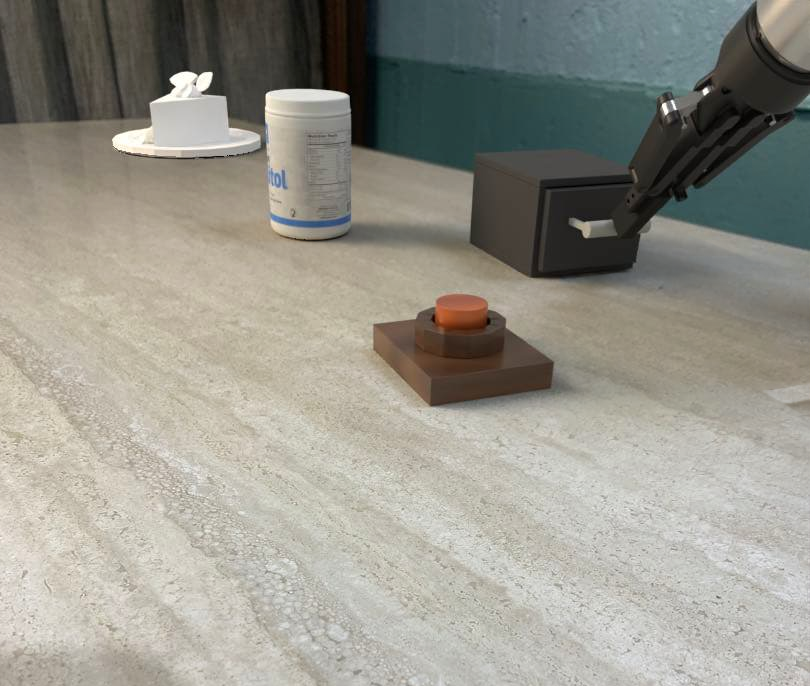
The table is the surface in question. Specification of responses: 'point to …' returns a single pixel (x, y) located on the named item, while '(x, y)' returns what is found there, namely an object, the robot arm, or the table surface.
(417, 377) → the block
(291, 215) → the supplement tub
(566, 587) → the table surface
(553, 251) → the drawer
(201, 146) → the white cake on plate
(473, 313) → the button
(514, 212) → the small cabinet
